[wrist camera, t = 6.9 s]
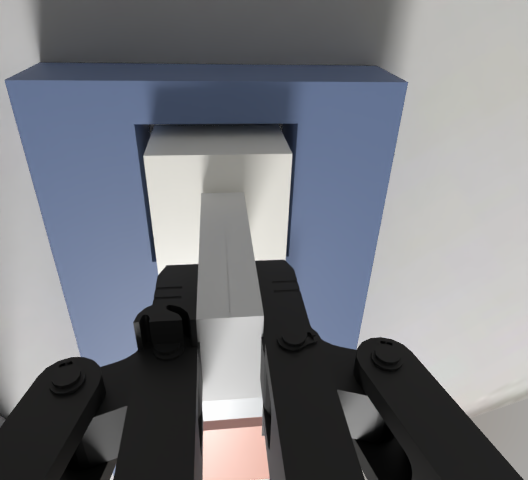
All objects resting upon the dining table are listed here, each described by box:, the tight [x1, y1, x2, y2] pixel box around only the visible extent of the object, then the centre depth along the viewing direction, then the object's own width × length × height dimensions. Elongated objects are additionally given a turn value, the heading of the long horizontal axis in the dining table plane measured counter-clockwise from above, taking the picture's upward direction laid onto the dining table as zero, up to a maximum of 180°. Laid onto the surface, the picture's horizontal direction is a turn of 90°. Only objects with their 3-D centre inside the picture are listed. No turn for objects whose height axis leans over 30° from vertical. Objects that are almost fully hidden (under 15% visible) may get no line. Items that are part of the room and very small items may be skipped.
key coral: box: [203, 417, 270, 480], centre depth 25 cm, size 5×5×4 cm
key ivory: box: [143, 124, 292, 275], centre depth 17 cm, size 5×5×4 cm
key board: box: [5, 63, 408, 475], centre depth 23 cm, size 24×14×4 cm, turn 178°
